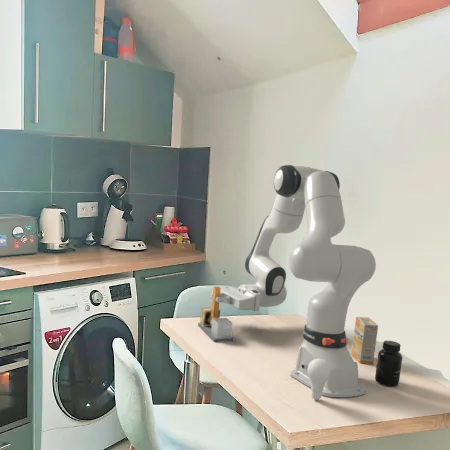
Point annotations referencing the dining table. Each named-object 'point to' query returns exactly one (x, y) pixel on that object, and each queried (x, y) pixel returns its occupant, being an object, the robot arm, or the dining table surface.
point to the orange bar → (214, 305)
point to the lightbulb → (318, 376)
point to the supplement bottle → (389, 364)
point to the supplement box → (364, 340)
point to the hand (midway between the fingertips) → (213, 298)
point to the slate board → (208, 331)
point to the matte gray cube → (221, 328)
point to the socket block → (204, 313)
